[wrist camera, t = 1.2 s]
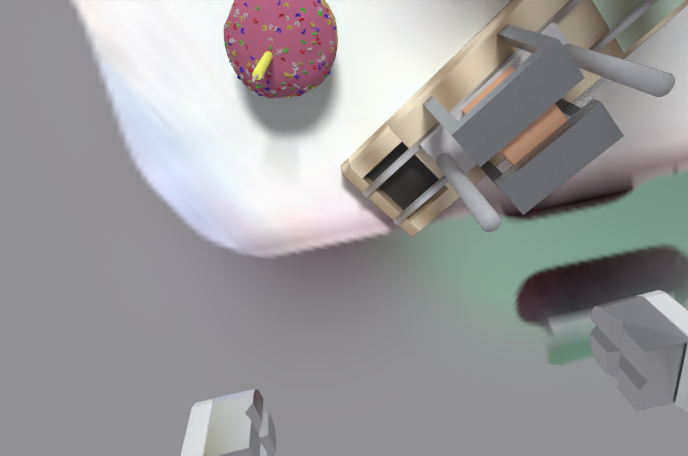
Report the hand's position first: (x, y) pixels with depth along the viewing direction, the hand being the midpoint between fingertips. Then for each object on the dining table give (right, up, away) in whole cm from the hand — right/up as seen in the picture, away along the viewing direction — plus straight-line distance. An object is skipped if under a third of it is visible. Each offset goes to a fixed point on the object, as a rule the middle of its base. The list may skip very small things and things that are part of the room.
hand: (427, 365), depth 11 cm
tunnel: (+11, +14, +29) cm, 35 cm away
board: (+12, +16, +31) cm, 37 cm away
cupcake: (-7, +20, +28) cm, 35 cm away
